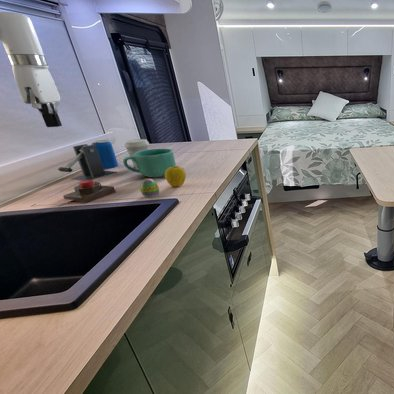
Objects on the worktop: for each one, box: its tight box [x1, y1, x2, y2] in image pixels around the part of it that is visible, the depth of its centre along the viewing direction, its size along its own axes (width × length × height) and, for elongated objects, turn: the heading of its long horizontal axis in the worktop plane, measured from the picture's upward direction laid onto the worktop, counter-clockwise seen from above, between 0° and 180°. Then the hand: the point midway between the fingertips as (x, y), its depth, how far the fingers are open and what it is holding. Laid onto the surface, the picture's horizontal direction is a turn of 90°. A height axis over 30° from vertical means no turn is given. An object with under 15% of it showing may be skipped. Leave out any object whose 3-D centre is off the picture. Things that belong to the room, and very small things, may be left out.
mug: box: [122, 148, 177, 179], centre depth 113 cm, size 17×13×10 cm
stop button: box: [78, 179, 95, 188], centre depth 93 cm, size 4×4×2 cm
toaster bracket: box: [70, 143, 118, 181], centre depth 111 cm, size 11×9×13 cm
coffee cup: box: [124, 138, 150, 169], centre depth 123 cm, size 9×8×12 cm
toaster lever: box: [57, 144, 86, 173], centre depth 107 cm, size 12×5×2 cm
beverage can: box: [91, 139, 119, 170], centre depth 123 cm, size 6×6×12 cm
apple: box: [164, 165, 187, 187], centre depth 102 cm, size 6×6×8 cm
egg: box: [139, 178, 160, 199], centre depth 93 cm, size 5×5×6 cm
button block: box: [62, 181, 117, 205], centre depth 94 cm, size 10×8×4 cm
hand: (54, 126), depth 91 cm, fingers closed
